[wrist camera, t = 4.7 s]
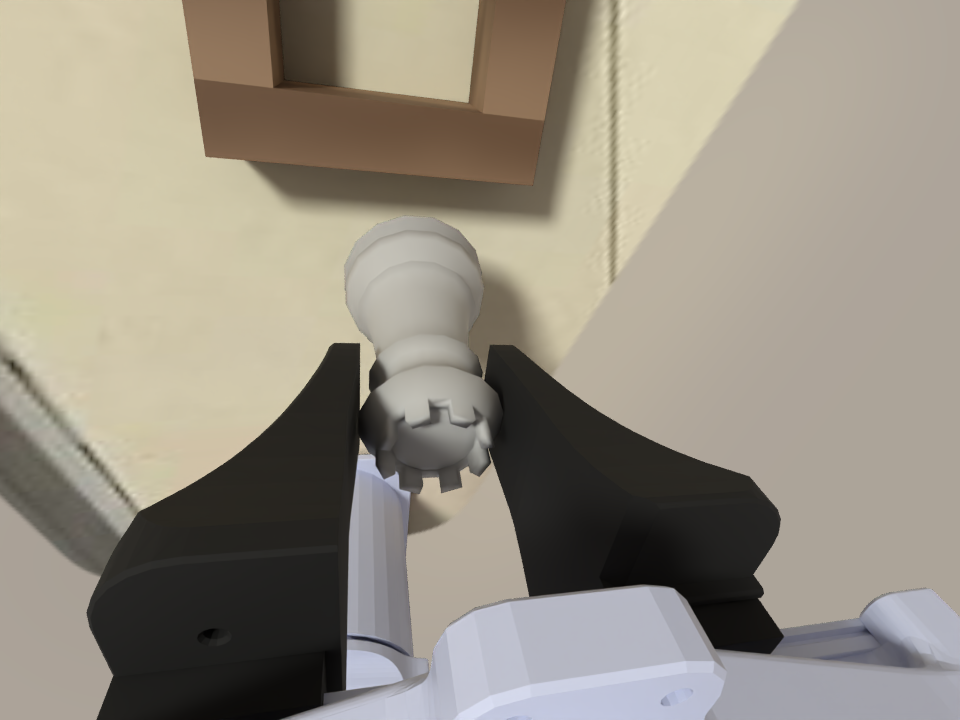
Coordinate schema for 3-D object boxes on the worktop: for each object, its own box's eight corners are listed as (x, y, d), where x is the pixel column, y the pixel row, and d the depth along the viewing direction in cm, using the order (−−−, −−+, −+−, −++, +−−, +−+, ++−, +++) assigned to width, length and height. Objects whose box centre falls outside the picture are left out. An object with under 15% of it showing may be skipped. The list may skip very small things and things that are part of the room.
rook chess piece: (506, 263, 17) (580, 433, 11) (424, 349, 19) (448, 540, 13) (399, 178, 15) (417, 333, 9) (316, 285, 16) (282, 479, 10)
